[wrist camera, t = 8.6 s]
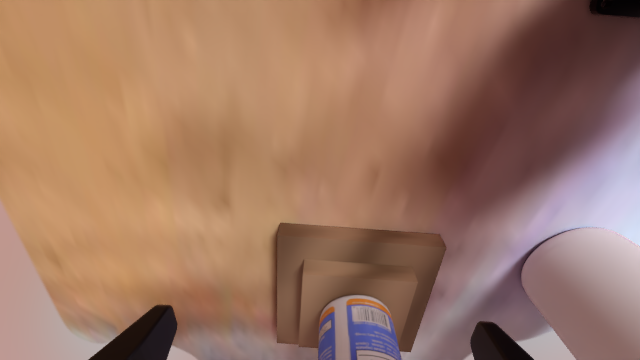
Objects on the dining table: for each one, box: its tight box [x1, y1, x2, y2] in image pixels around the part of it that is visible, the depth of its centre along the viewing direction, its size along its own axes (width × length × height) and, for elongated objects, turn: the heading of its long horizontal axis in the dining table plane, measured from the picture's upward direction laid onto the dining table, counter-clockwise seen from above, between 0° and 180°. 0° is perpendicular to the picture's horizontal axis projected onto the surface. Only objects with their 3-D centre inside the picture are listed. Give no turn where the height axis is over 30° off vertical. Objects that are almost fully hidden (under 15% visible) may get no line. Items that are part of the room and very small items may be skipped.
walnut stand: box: [277, 223, 446, 352], centre depth 23 cm, size 12×12×3 cm
